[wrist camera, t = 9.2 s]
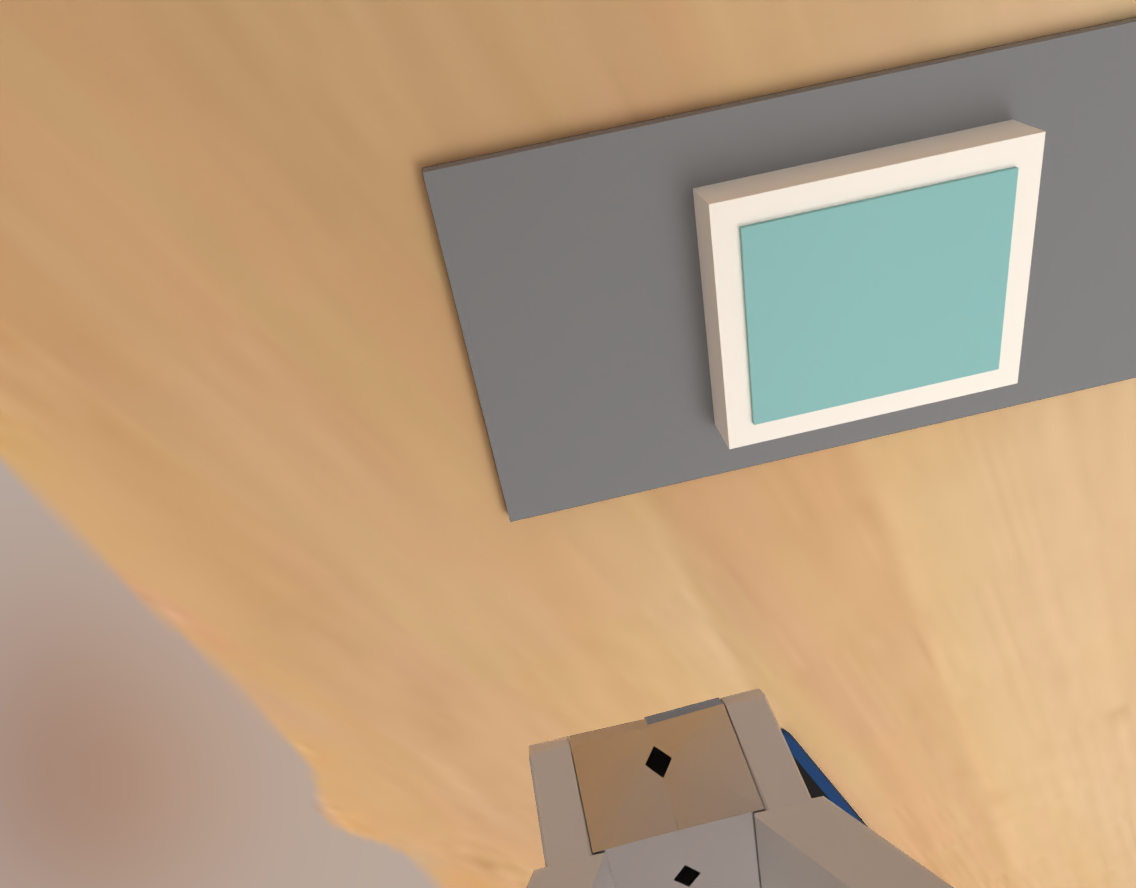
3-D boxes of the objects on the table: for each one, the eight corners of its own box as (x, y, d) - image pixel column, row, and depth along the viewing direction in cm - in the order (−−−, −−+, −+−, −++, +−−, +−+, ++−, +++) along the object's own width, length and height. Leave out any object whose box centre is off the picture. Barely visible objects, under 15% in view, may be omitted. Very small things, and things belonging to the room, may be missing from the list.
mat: (422, 168, 31) (422, 172, 31) (1243, -6, 33) (1256, -5, 32) (508, 513, 39) (510, 521, 39) (1166, 362, 41) (1176, 368, 40)
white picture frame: (710, 206, 31) (1049, 132, 31) (692, 188, 33) (1012, 119, 33) (731, 451, 36) (1020, 385, 37) (714, 424, 38) (990, 361, 38)
